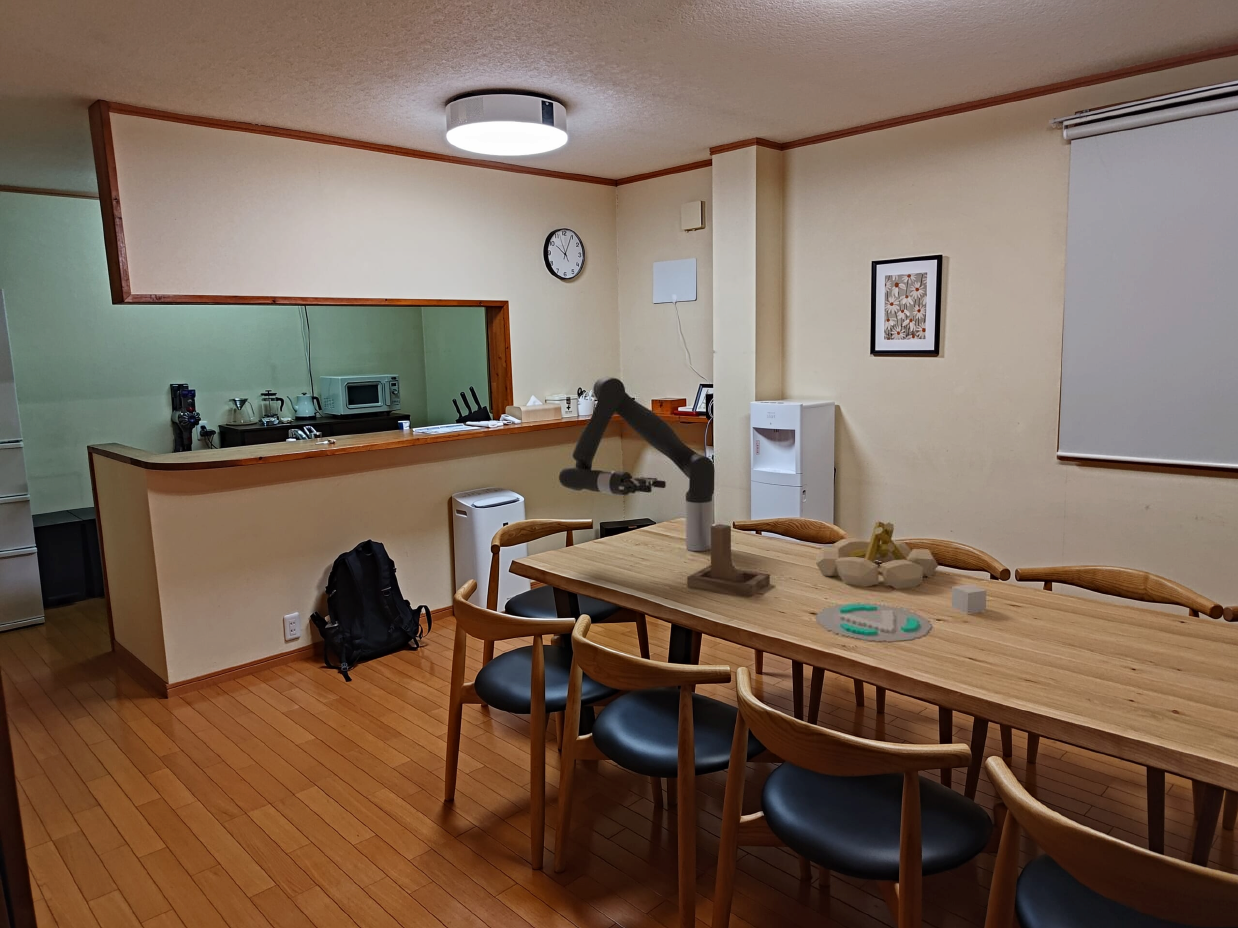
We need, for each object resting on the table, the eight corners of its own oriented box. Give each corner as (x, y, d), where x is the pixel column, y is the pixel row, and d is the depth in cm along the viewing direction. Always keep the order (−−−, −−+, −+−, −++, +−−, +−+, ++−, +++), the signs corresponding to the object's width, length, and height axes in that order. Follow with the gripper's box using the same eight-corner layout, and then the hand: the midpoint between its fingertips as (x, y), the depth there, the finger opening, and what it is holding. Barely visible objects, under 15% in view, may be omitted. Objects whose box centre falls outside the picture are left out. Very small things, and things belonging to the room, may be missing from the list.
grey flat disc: (847, 648, 195) (847, 641, 195) (800, 610, 223) (800, 605, 222) (953, 638, 201) (953, 631, 200) (894, 602, 228) (894, 596, 228)
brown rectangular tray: (710, 574, 257) (710, 565, 256) (769, 583, 246) (769, 573, 245) (687, 586, 244) (687, 577, 244) (748, 597, 233) (748, 587, 233)
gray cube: (969, 605, 223) (970, 584, 222) (985, 612, 217) (986, 590, 216) (951, 607, 221) (952, 586, 220) (967, 614, 215) (968, 592, 214)
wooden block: (743, 586, 243) (743, 527, 240) (734, 590, 240) (734, 530, 237) (719, 581, 249) (719, 523, 246) (710, 584, 246) (710, 526, 243)
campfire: (912, 598, 230) (914, 539, 228) (800, 579, 251) (801, 524, 248) (948, 569, 258) (950, 516, 255) (844, 553, 278) (845, 504, 275)
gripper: (602, 474, 256) (646, 478, 247) (626, 467, 268) (669, 471, 259) (602, 497, 257) (646, 502, 249) (627, 490, 269) (669, 494, 260)
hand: (658, 486), depth 254 cm, fingers open, 8 cm apart
